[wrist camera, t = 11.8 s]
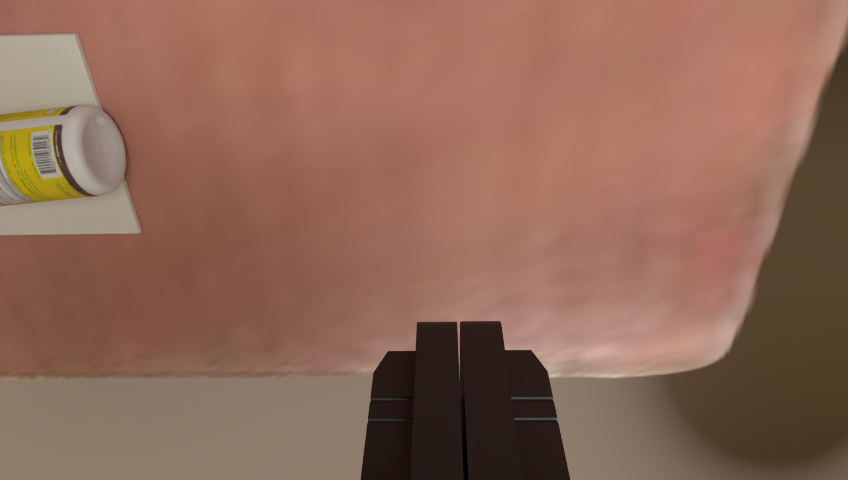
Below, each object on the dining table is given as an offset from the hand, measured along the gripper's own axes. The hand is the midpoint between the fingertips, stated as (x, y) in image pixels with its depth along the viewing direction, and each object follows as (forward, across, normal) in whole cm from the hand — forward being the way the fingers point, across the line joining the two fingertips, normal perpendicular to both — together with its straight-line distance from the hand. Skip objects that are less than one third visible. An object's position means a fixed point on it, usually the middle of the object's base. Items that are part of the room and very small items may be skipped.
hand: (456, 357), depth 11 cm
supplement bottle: (+26, +21, +7) cm, 34 cm away
